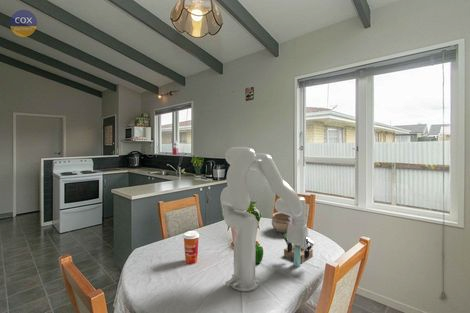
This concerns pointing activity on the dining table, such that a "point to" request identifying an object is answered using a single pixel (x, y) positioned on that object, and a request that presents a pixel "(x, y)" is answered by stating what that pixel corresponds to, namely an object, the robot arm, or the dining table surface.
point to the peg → (297, 255)
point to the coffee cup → (191, 246)
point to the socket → (302, 259)
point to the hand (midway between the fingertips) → (297, 254)
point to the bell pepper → (258, 253)
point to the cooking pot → (280, 222)
